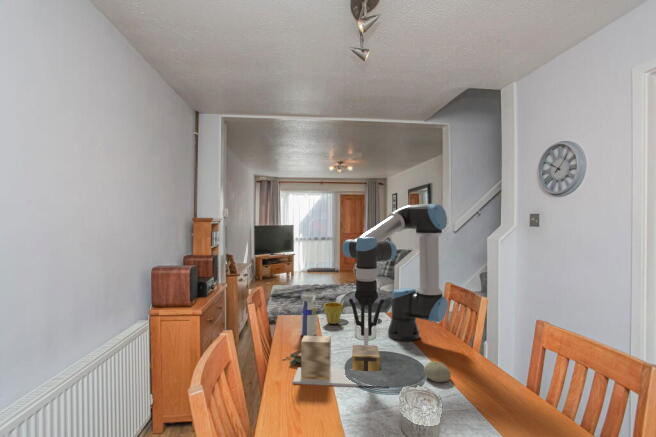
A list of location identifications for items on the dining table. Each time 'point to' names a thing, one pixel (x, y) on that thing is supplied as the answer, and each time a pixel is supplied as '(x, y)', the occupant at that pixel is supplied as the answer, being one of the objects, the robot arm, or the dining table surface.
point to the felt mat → (335, 378)
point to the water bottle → (309, 314)
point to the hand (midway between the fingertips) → (366, 344)
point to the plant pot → (333, 312)
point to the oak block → (316, 357)
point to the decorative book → (297, 358)
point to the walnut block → (365, 358)
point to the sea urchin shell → (437, 372)
